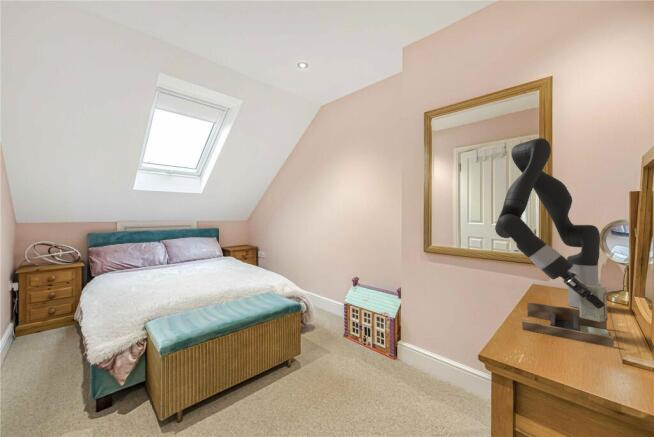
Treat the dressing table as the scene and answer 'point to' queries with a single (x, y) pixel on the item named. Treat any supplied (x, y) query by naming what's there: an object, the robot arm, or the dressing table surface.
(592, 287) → the skincare box
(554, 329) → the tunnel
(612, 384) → the dressing table surface
